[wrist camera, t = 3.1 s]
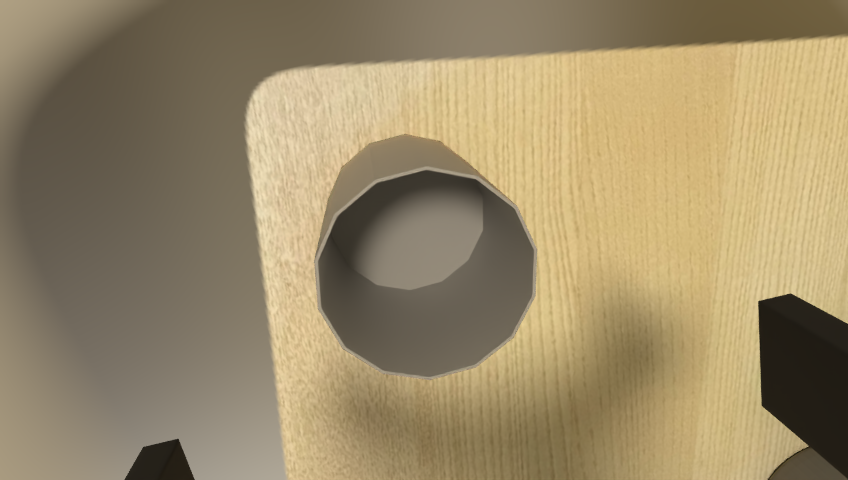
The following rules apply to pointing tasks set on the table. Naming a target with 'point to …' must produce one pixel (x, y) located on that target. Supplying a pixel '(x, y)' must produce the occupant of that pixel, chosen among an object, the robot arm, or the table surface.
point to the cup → (421, 261)
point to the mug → (807, 468)
